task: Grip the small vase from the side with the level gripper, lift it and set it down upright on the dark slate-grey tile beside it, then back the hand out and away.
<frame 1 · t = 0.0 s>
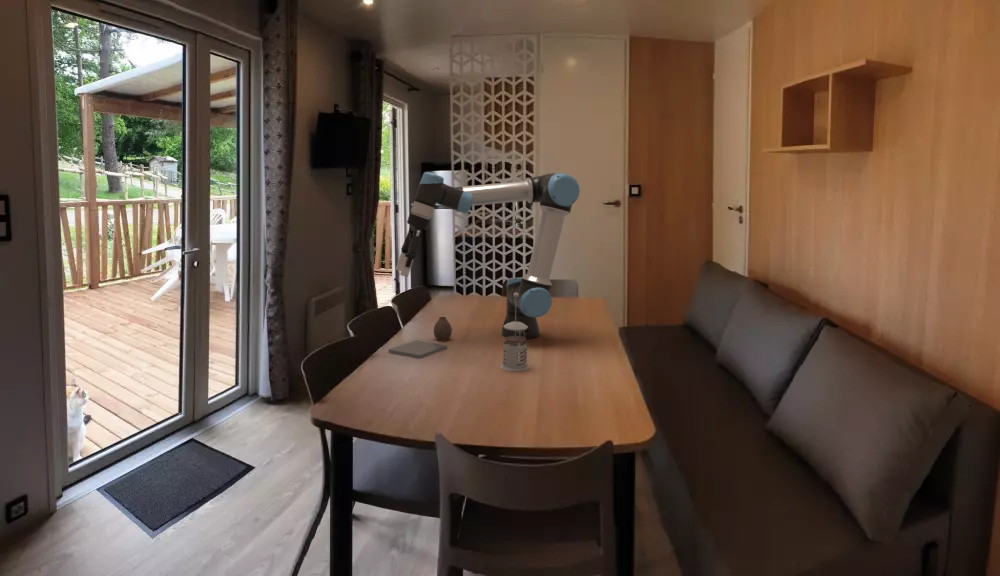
hand: (401, 273, 228), 28 cm above the table, tool tilted 20°, fingers open, 13 cm apart
slate tile: (418, 350, 231), on the table
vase: (442, 340, 248), on the table
french press: (515, 366, 214), on the table
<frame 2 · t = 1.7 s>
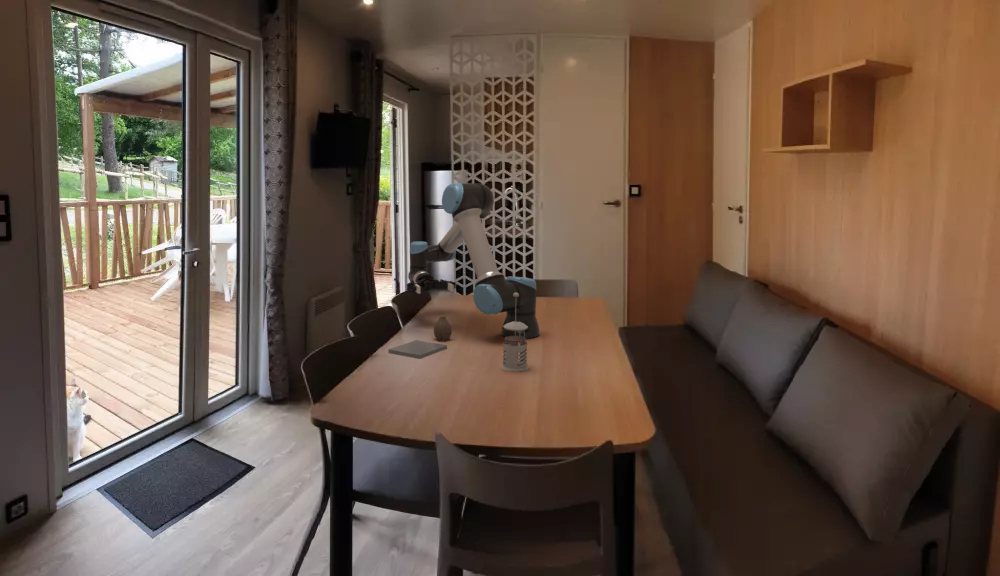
hand: (436, 289, 254), 18 cm above the table, tool horizontal, fingers open, 13 cm apart
nothing on the table moved.
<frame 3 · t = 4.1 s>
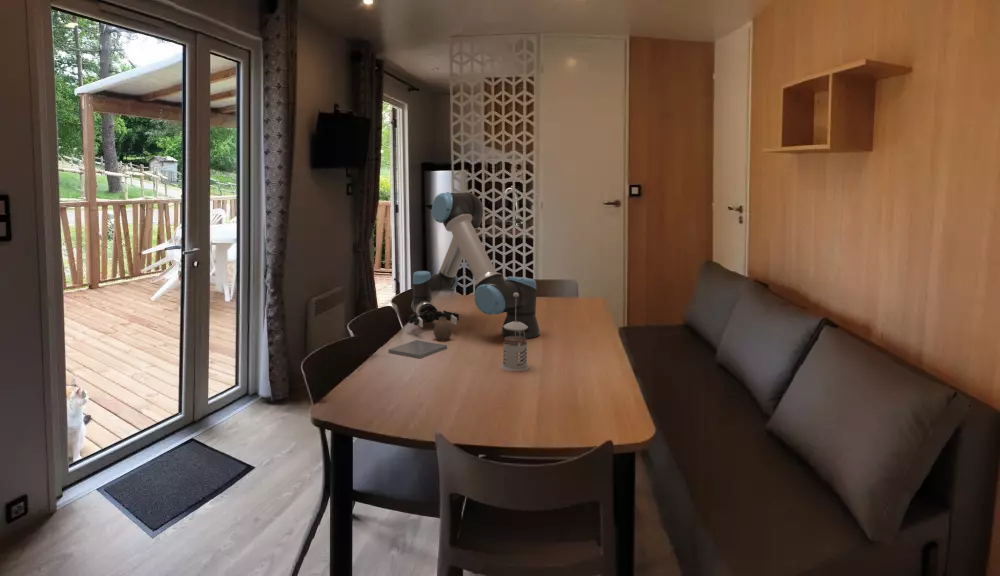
hand: (439, 322, 250), 6 cm above the table, tool horizontal, fingers open, 13 cm apart
nothing on the table moved.
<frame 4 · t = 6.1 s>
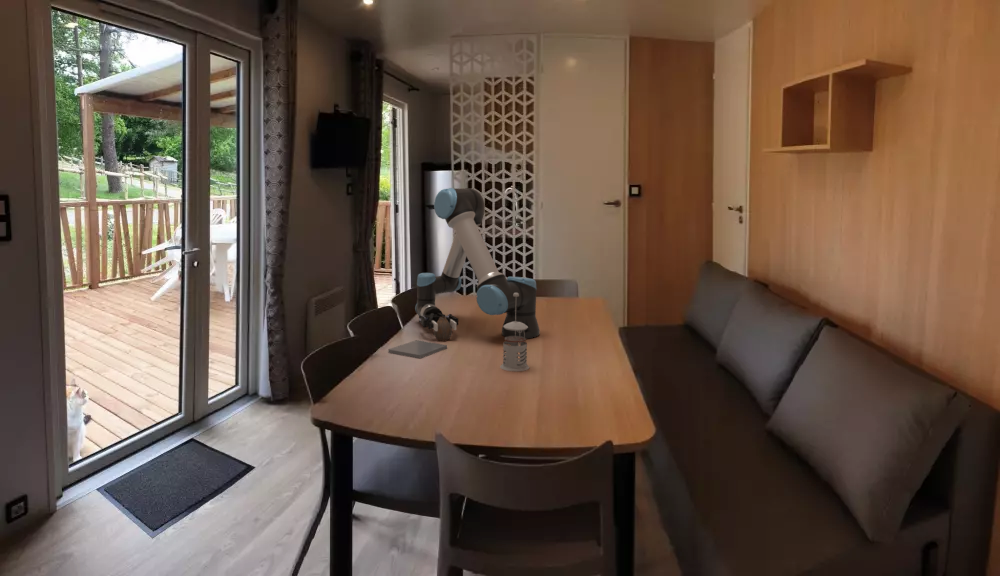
hand: (446, 327, 242), 6 cm above the table, tool horizontal, fingers closed on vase, 7 cm apart
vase: (442, 340, 248), on the table, touching gripper
everything else where it was.
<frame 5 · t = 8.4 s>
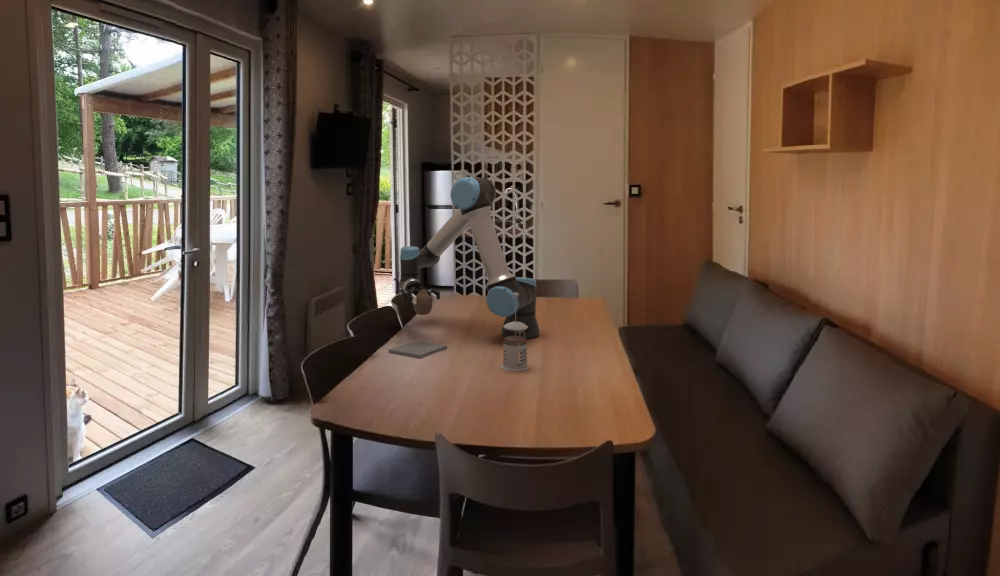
hand: (425, 300, 230), 18 cm above the table, tool horizontal, fingers closed on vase, 7 cm apart
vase: (422, 314, 236), point 12 cm above the table, touching gripper
everything else where it was.
when the fingers open (8 cm above the table, at t = 11.0 s): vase drops 1 cm, resting on slate tile.
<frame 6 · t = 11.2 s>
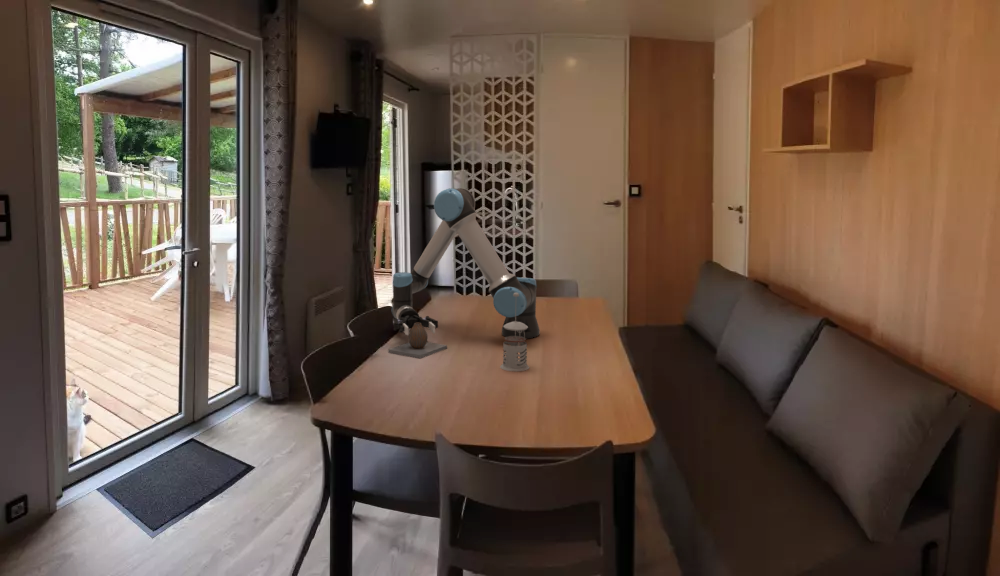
hand: (420, 330, 226), 8 cm above the table, tool horizontal, fingers open, 9 cm apart
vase: (417, 347, 231), point 1 cm above the table, touching slate tile
everything else where it was.
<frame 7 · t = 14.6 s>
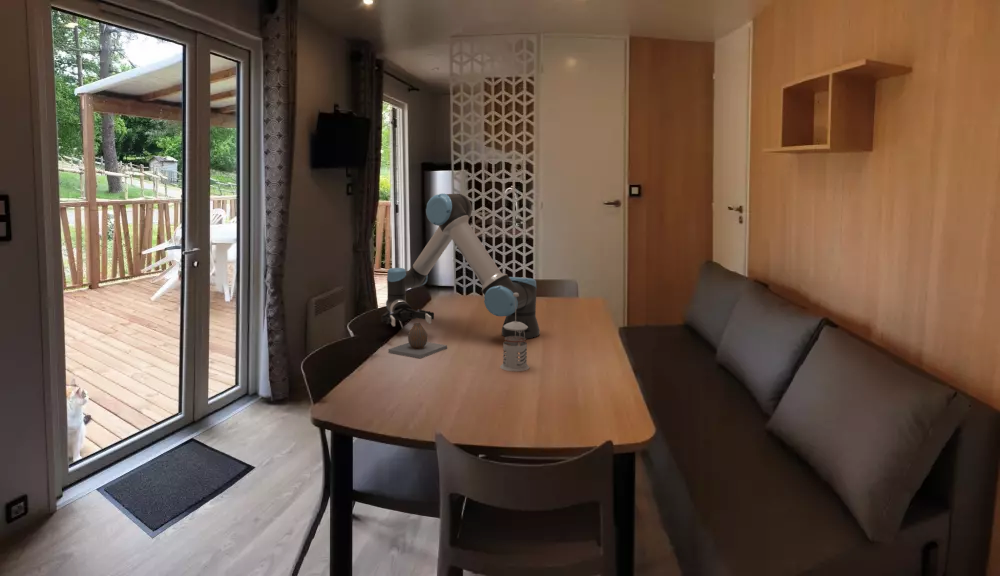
hand: (412, 321, 239), 9 cm above the table, tool horizontal, fingers open, 13 cm apart
nothing on the table moved.
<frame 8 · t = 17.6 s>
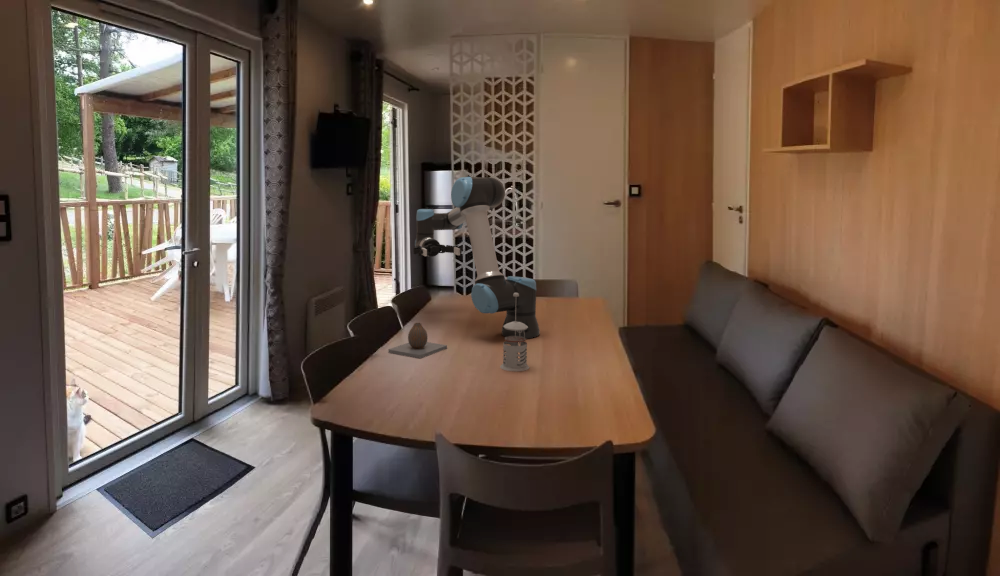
hand: (442, 252, 257), 32 cm above the table, tool horizontal, fingers open, 13 cm apart
nothing on the table moved.
at the end: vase inside the target area on the slate tile (0.1 cm from its centre), point 1.0 cm above the slate tile's base; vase tilted 0°; the gripper is holding nothing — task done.
